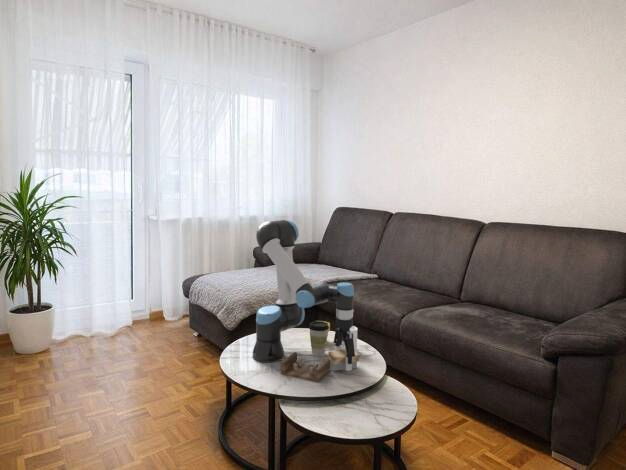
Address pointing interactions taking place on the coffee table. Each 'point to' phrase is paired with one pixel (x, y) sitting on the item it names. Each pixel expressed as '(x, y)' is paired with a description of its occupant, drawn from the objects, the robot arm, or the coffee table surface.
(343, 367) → the wedge
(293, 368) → the cradle
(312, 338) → the coffee cup
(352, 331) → the mug
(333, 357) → the board
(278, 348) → the robot arm
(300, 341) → the coffee table surface
